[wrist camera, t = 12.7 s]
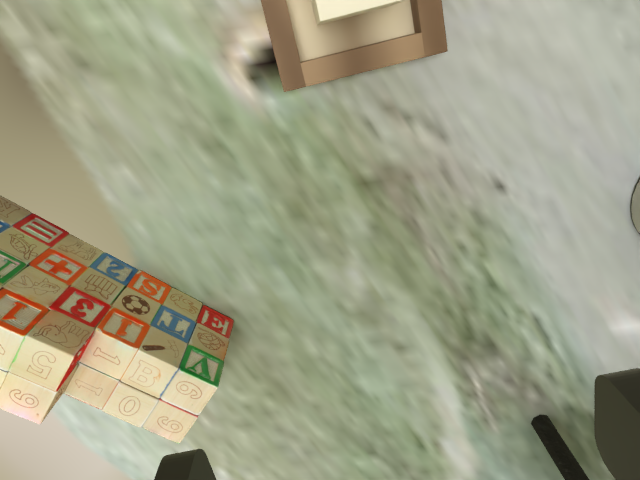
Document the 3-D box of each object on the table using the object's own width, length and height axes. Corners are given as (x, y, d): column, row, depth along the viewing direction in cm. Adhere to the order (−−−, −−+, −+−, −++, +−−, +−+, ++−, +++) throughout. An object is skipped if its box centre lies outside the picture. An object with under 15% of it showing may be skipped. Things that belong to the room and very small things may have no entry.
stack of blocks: (237, 317, 42) (212, 420, 31) (203, 368, 44) (168, 482, 32) (-7, 191, 37) (-144, 257, 26) (-33, 253, 39) (-173, 341, 27)
